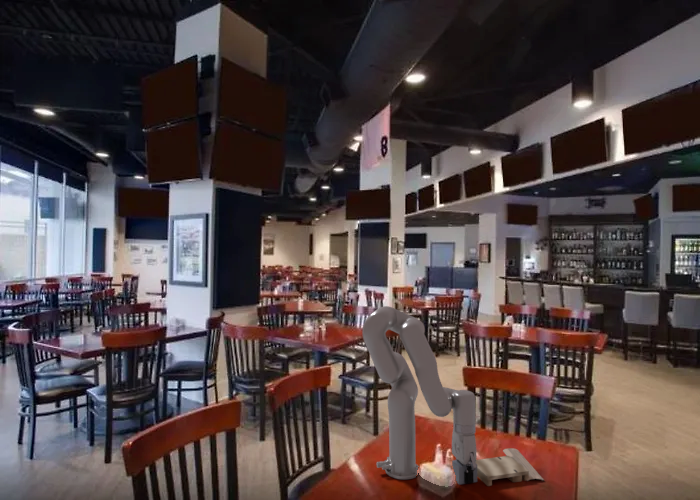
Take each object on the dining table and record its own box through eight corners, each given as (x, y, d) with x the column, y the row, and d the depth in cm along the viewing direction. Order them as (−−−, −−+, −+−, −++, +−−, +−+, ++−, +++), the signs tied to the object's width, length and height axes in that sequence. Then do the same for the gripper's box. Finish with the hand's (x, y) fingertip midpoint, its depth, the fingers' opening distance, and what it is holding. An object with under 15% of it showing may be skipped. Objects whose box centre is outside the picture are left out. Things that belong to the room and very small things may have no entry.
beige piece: (544, 483, 156) (544, 478, 156) (524, 483, 155) (524, 478, 155) (517, 452, 179) (517, 448, 179) (500, 452, 179) (500, 448, 179)
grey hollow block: (459, 484, 154) (458, 466, 154) (452, 477, 159) (452, 459, 159) (477, 481, 156) (477, 464, 156) (470, 474, 160) (470, 457, 160)
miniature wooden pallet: (487, 486, 153) (487, 476, 153) (470, 469, 164) (470, 460, 164) (528, 480, 156) (528, 470, 156) (508, 464, 168) (508, 455, 168)
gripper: (443, 419, 164) (444, 468, 165) (466, 438, 148) (467, 493, 148) (462, 417, 166) (462, 466, 166) (486, 435, 150) (487, 489, 150)
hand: (464, 478), depth 157 cm, fingers closed on grey hollow block, 5 cm apart
